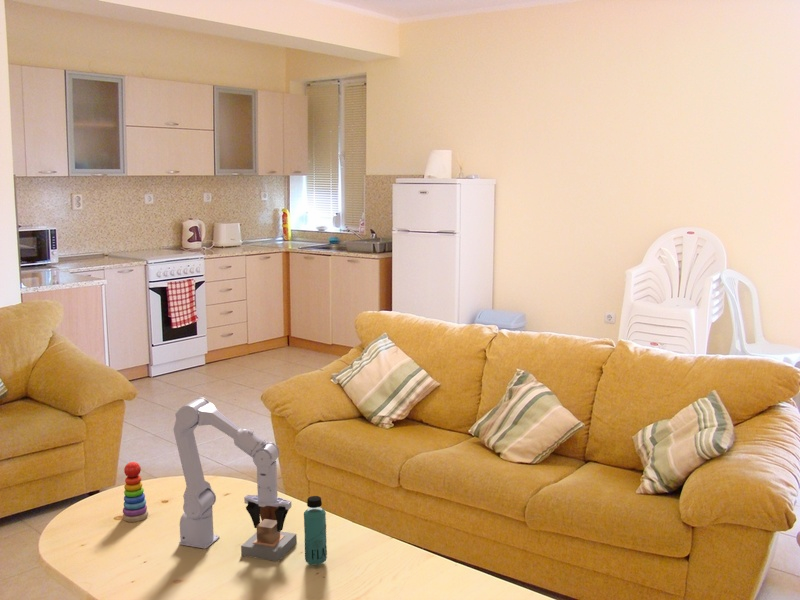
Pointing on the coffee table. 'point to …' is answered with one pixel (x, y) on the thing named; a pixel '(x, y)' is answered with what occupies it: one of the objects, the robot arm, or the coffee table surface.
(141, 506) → the stacking toy
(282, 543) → the slate plinth
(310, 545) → the beverage bottle
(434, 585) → the coffee table surface
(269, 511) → the wooden figurine
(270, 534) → the walnut cube
